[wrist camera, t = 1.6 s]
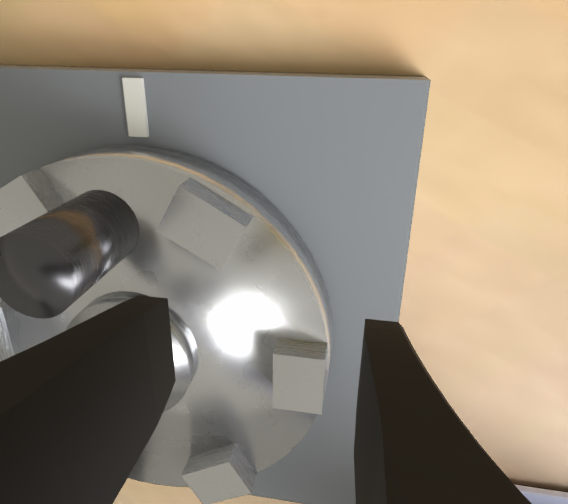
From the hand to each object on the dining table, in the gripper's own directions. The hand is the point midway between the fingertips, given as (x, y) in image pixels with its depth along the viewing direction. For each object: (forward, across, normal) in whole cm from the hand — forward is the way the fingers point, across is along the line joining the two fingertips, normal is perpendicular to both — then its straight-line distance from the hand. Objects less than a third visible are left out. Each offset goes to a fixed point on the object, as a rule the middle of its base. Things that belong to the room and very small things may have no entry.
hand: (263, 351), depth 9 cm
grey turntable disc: (+9, +6, +6) cm, 12 cm away
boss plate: (+10, +6, +6) cm, 13 cm away
